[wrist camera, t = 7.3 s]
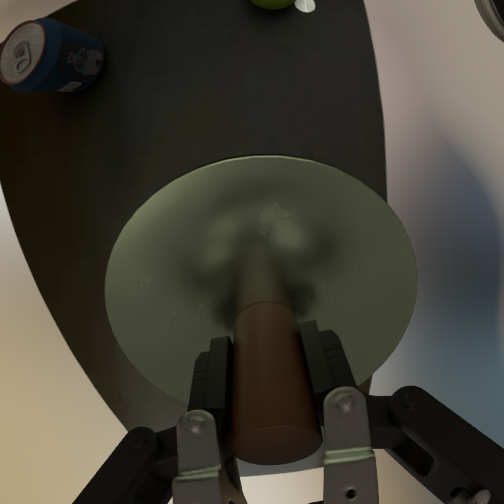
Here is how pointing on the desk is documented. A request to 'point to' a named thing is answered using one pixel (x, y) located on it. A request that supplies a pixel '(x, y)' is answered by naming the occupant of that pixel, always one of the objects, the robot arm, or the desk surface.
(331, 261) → the pot lid
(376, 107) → the desk surface
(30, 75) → the soda can
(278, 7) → the snail figurine
